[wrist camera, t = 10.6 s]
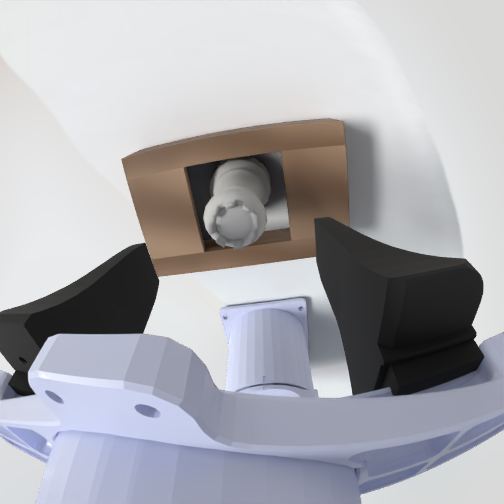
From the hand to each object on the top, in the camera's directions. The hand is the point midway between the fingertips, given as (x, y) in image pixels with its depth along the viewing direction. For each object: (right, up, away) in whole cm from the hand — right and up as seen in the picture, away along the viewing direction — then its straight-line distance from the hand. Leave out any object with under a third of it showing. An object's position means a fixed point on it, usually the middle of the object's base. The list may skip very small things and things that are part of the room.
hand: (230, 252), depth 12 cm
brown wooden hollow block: (0, +5, +9) cm, 10 cm away
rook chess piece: (0, +5, +9) cm, 11 cm away
